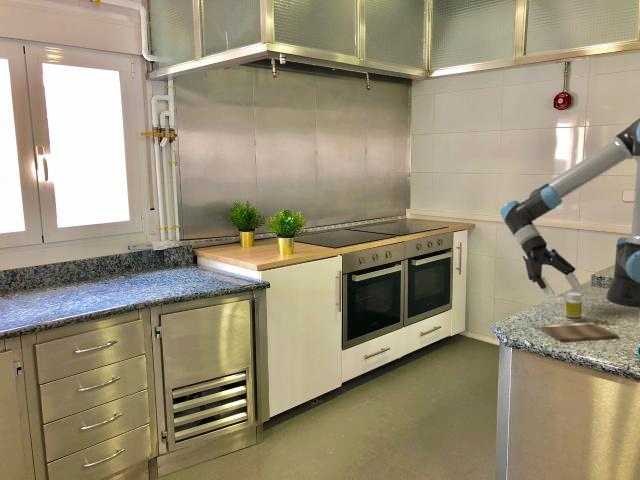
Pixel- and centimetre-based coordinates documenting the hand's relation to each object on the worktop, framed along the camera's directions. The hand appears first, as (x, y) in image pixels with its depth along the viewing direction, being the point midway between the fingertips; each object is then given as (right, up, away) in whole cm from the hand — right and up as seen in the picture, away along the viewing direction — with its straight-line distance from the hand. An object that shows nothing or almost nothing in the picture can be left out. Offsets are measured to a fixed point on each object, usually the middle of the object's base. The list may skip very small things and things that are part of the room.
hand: (566, 293), depth 166 cm
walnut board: (-3, -10, -13) cm, 17 cm away
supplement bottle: (+2, -8, 0) cm, 8 cm away
